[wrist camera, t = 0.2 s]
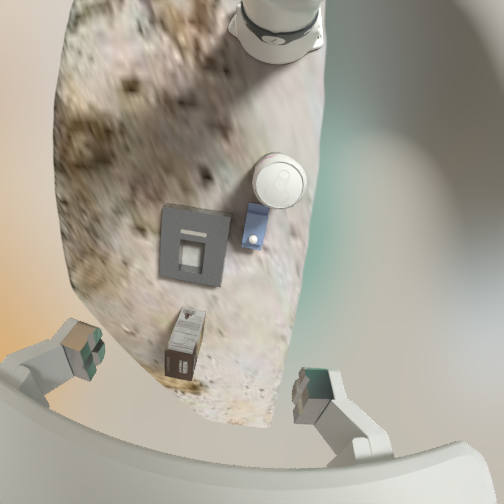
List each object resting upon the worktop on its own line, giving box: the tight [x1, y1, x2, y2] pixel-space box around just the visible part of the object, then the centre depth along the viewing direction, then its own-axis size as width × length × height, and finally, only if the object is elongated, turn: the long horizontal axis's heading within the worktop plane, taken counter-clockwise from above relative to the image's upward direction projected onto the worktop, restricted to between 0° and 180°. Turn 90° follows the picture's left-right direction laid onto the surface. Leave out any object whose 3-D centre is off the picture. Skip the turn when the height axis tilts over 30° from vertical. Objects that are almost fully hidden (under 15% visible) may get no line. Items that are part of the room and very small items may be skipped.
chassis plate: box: [160, 203, 232, 287], centre depth 58 cm, size 16×14×3 cm
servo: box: [241, 202, 269, 250], centre depth 54 cm, size 9×4×6 cm, turn 170°
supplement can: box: [252, 152, 307, 209], centre depth 46 cm, size 8×8×15 cm
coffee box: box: [165, 307, 206, 381], centre depth 61 cm, size 9×6×16 cm
